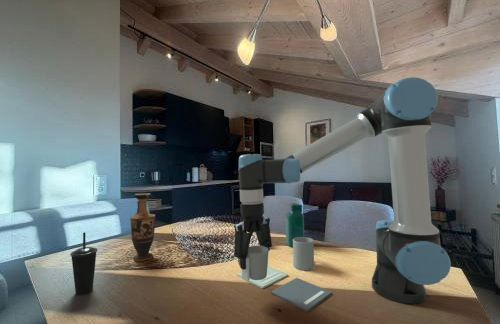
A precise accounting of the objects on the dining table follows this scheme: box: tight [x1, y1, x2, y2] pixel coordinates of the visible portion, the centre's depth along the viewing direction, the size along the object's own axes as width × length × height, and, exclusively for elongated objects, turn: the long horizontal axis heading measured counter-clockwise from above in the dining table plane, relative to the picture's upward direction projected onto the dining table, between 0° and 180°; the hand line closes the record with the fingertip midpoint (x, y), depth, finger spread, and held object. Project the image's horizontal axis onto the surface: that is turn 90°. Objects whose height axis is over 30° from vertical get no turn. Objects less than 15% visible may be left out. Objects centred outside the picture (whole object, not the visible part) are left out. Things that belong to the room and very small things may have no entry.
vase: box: [129, 192, 156, 262], centre depth 111 cm, size 11×11×30 cm
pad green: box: [236, 265, 289, 290], centre depth 91 cm, size 14×14×1 cm
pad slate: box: [270, 277, 333, 312], centre depth 78 cm, size 14×14×1 cm
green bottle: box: [284, 202, 305, 248], centre depth 127 cm, size 10×8×22 cm
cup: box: [237, 245, 269, 280], centre depth 76 cm, size 8×10×8 cm
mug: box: [292, 236, 315, 272], centre depth 101 cm, size 12×8×11 cm
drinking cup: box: [70, 232, 98, 296], centre depth 82 cm, size 8×8×20 cm
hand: (255, 274), depth 76 cm, fingers closed on cup, 7 cm apart
